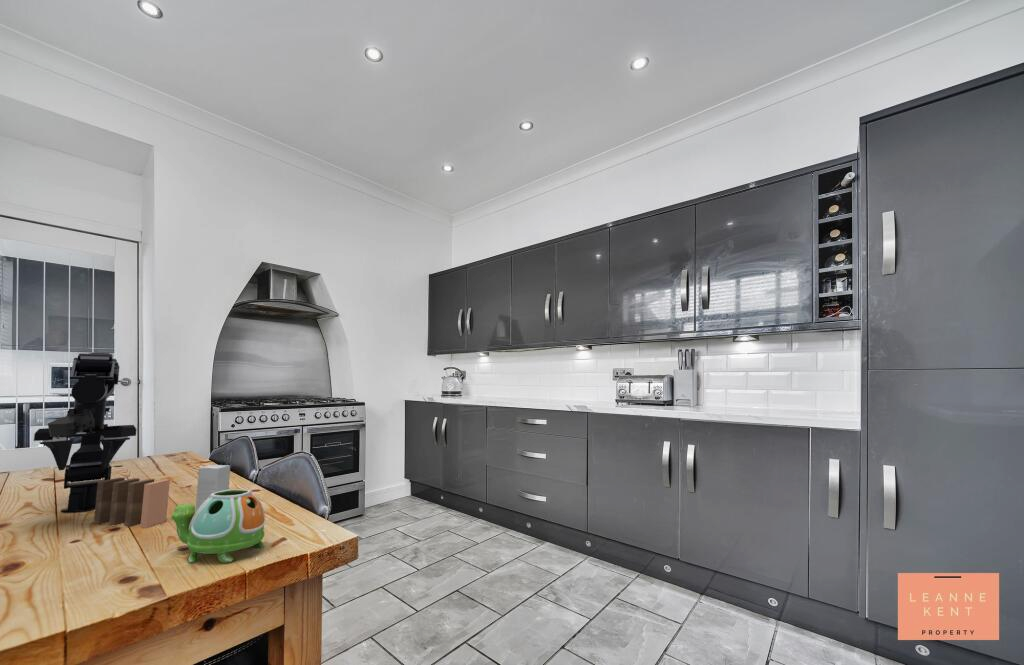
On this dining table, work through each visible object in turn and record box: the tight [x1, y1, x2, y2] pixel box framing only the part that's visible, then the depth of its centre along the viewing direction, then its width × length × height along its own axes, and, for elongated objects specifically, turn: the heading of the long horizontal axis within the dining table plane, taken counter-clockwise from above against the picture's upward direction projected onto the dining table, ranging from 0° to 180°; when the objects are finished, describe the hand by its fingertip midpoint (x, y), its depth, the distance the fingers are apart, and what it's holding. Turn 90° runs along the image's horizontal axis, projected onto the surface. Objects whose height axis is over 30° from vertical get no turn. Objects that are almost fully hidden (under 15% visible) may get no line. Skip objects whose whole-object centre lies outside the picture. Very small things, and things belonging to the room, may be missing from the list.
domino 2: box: [108, 477, 141, 526], centre depth 107 cm, size 2×5×10 cm, turn 170°
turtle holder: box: [171, 488, 266, 564], centre depth 89 cm, size 12×18×12 cm
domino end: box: [139, 479, 171, 529], centre depth 106 cm, size 2×5×10 cm, turn 170°
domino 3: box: [124, 478, 156, 528], centre depth 106 cm, size 2×5×10 cm, turn 170°
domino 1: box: [93, 477, 126, 526], centre depth 108 cm, size 2×5×10 cm, turn 170°
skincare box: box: [195, 464, 231, 512], centre depth 115 cm, size 6×4×12 cm
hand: (82, 469), depth 105 cm, fingers open, 9 cm apart
